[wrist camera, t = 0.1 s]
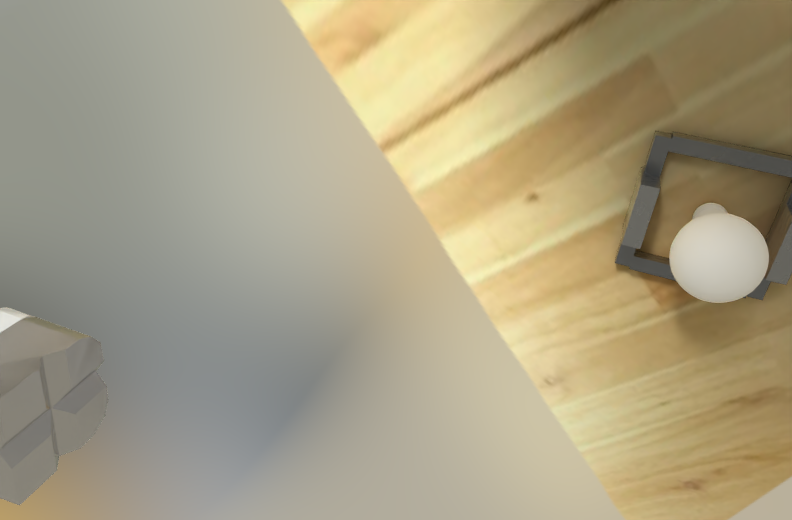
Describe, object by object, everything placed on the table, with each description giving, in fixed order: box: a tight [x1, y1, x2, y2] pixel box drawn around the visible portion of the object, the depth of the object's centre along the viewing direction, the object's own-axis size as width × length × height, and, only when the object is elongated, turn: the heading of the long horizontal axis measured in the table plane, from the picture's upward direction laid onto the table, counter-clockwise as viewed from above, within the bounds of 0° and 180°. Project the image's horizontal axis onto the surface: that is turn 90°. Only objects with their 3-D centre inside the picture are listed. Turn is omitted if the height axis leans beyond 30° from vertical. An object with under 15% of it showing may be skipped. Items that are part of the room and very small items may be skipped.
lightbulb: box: [669, 203, 769, 303], centre depth 49 cm, size 6×6×11 cm
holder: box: [615, 131, 792, 300], centre depth 51 cm, size 11×12×4 cm
